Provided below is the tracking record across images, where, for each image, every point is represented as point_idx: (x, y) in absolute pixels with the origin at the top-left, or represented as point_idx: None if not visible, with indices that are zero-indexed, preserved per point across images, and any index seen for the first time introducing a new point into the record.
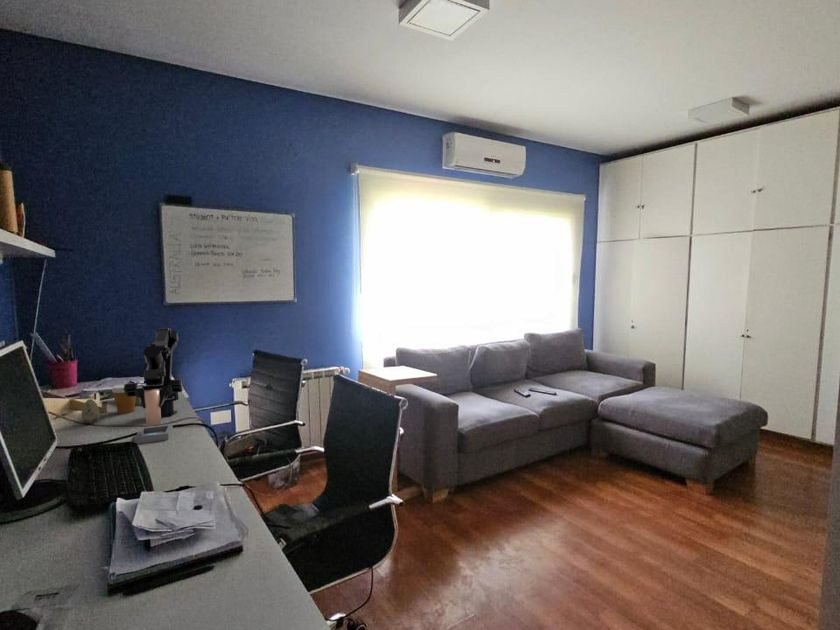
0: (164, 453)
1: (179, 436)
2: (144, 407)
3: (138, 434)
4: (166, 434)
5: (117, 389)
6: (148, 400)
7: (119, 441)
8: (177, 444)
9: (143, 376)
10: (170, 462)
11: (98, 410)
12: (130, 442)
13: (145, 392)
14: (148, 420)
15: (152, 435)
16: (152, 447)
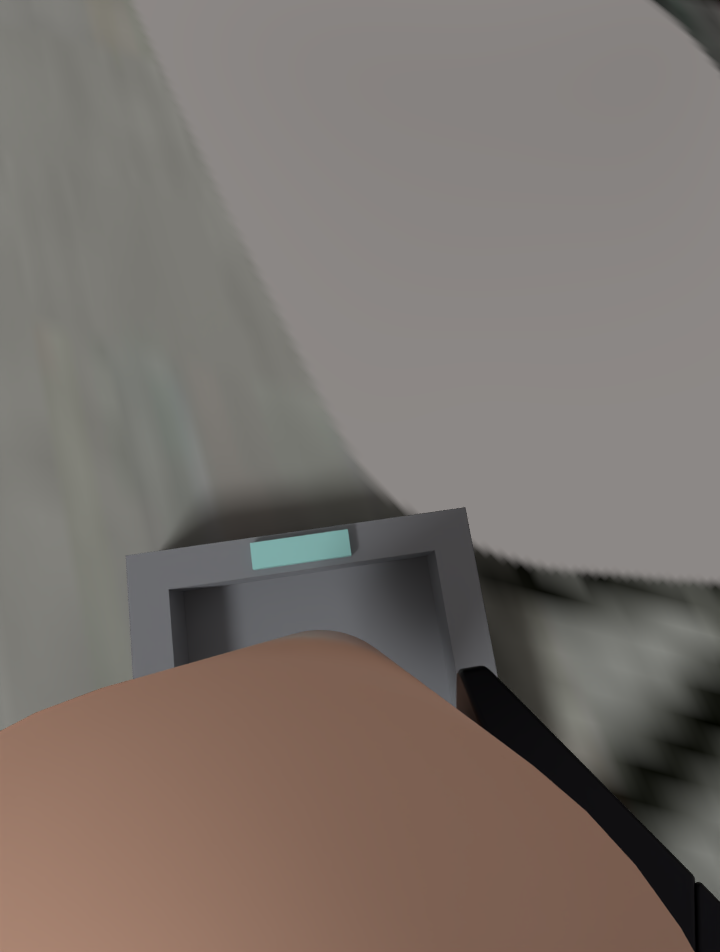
0: (108, 221)
1: (52, 637)
2: (458, 674)
3: (462, 605)
4: (147, 552)
5: None
6: (345, 649)
7: (643, 640)
8: (34, 401)
9: None
10: (25, 47)
11: None
12: (515, 578)
13: (574, 826)
14: (362, 641)
15: (289, 533)
16: (251, 384)
